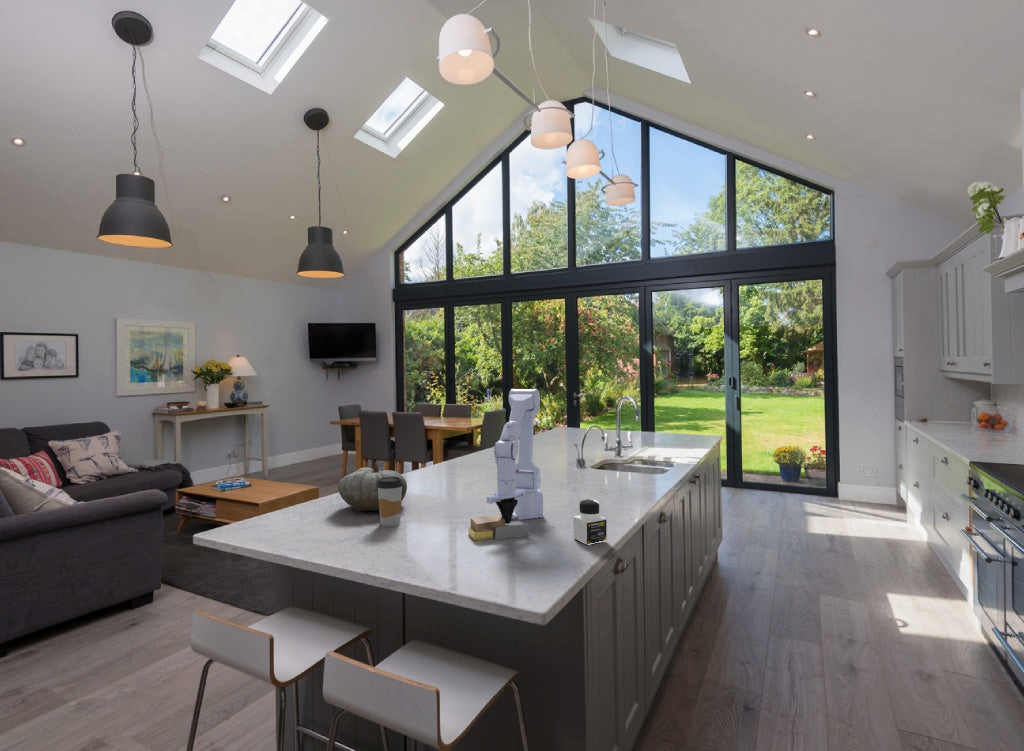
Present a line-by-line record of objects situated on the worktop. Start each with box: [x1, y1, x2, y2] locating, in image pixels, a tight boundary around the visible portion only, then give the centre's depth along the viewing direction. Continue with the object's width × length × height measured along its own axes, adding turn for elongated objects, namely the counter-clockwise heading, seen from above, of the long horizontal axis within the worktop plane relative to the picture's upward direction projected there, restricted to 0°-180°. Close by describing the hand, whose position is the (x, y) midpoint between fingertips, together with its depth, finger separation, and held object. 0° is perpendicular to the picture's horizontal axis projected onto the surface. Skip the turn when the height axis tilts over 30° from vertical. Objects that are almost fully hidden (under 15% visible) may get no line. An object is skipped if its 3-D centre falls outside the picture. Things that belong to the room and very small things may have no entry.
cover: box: [470, 513, 505, 532], centre depth 169 cm, size 9×7×2 cm
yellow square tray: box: [468, 526, 494, 541], centre depth 168 cm, size 6×6×2 cm
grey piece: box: [493, 516, 530, 540], centre depth 171 cm, size 10×9×4 cm
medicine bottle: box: [573, 498, 608, 544], centre depth 163 cm, size 7×7×12 cm
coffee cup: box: [377, 477, 403, 528], centre depth 182 cm, size 8×8×15 cm
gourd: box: [337, 462, 408, 512], centre depth 204 cm, size 25×25×17 cm
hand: (506, 522), depth 171 cm, fingers closed
